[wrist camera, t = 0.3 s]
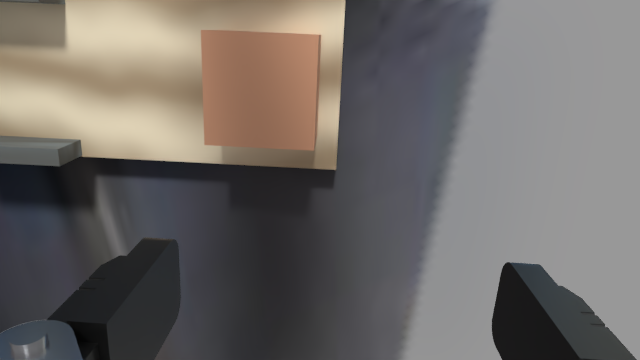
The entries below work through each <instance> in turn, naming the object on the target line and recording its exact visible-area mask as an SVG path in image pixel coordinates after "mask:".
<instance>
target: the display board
mask: <svg viewBox="0 0 640 360" xmlns="http://www.w3.org/2000/svg"><path fill="white" fill-rule="evenodd" d="M344 18H345V0H0V163H6V164H25V165H44V166H61V165H64V164H66V163H68V162H70V161H72V160H74V159H76V158H78V157H99V158H118V159H137V160H156V161H175V162H195V163H214V164H233V165H252V166H271V167H290V168H310V169H329V170H336V162H337V144H338V126H339V108H340V90H341V72H342V54H343V36H344ZM201 30H230V31H252V32H274V33H296V34H318V35H321V57H320V81H319V104H318V128H317V139H316V144H315V149H314V151H310V150H291V149H271V148H252V147H232V146H213V145H204V117H203V86H202V54H201Z"/></svg>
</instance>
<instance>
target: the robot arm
mask: <svg viewBox="0 0 640 360" xmlns="http://www.w3.org/2000/svg"><path fill="white" fill-rule="evenodd" d="M180 298H181V295H180V270H179V249H178V243H177V241H176V240H174V239H159V238H143V239H142V240H141V241H140V242H139V243H138V244H137V245H136V246H135V248H134V249H133V250H132V251H131V252H130V253H129V254H128V255H127V256H118V257H116V258H114V259H112V260H111V261H109V262H107V263H105V264H103V265H101V266H100V267H99V268H98V269H97V270H96V271H95V272H94V273H93V274H92V275H91V276H90V277H89V280H86V281H85V282H84V283H83V284H82V285H81V286H80V287H79V290H76V291H75V292H74V293H73V294H72V295H71V296H70V297H69V298H68V299H67V300H66V301H65V302H64V303H63V304H62V305H61V306H60V307H59V308H58V309H57V310H56V311H55V312H54V313H53V314H52V315H51V316H50V317H49V318H48V319H47V320H38V321H32V322H27V323H24V324H20V325H17V326H15V327H12V328H10V329H8V330H6V331H4V332H2V333H0V360H154V359H155V357H156V356H157V354H158V352H159V350H160V348H161V347H162V345H163V343H164V341H165V339H166V338H167V336H168V334H169V332H170V330H171V329H172V327H173V325H174V323H175V321H176V319H177V316H178V312H179V308H180ZM492 334H493V339H494V343H495V346H496V348H497V350H498V352H499V354H500V356H501V358H502V360H636V359H635V357H634V356H633V355H632V354H631V353H630V352H629V351H628V350H627V349H626V347H625V346H624V345H623V344H622V343H621V342H620V341H619V340H618V338H617V337H616V336H615V335H614V334H613V333H612V332H611V331H610V330H609V328H607V327H605V324H604V323H603V322H602V321H601V319H599V317H598V316H596V315H594V312H593V310H592V309H591V308H590V307H589V306H588V305H587V304H586V303H585V302H584V300H583V299H582V298H580V297H579V296H577V295H575V294H574V293H572V292H571V291H569V290H568V289H566V288H564V287H563V286H558V285H557V284H556V283H555V282H554V280H553V279H552V278H551V277H550V276H549V275H548V273H547V272H546V271H545V270H544V269H543V267H542V266H541V265H538V264H524V263H509V262H508V263H506V264H505V265H504V266H503V269H502V272H501V277H500V282H499V287H498V292H497V297H496V302H495V307H494V313H493V318H492Z"/></svg>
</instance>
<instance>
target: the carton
mask: <svg viewBox="0 0 640 360" xmlns="http://www.w3.org/2000/svg"><path fill="white" fill-rule="evenodd" d="M201 54H202V86H203V117H204V145H213V146H232V147H252V148H271V149H291V150H310V151H314V149H315V144H316V139H317V128H318V104H319V81H320V57H321V35H318V34H296V33H274V32H252V31H230V30H201Z"/></svg>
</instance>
